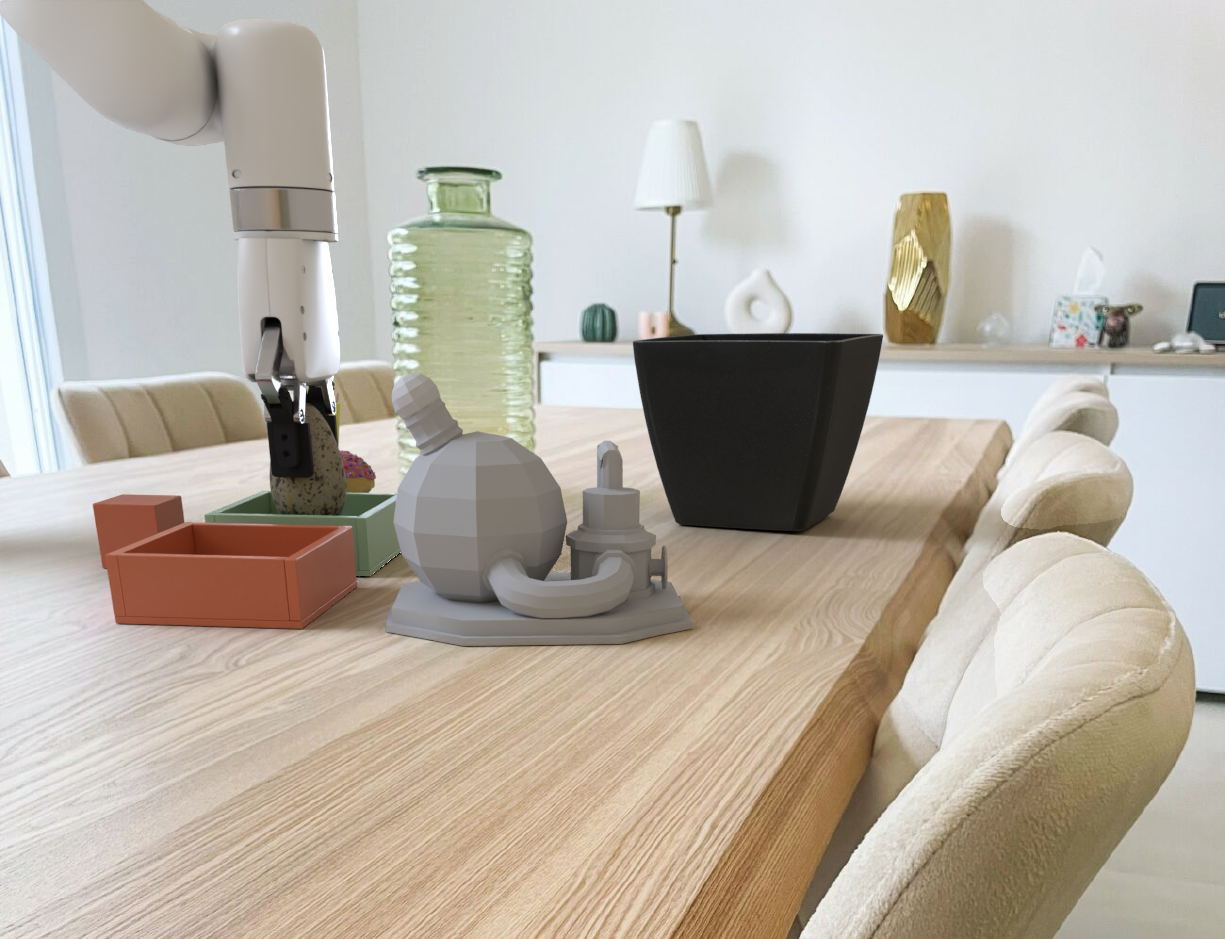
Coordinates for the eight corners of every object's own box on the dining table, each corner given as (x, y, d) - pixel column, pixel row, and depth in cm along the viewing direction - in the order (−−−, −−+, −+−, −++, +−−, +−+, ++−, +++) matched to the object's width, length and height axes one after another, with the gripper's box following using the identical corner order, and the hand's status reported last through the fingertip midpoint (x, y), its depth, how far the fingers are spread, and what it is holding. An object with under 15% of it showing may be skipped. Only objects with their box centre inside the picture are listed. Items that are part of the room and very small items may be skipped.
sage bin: (211, 573, 95) (203, 514, 93) (268, 543, 106) (262, 490, 105) (370, 577, 94) (365, 518, 92) (410, 546, 105) (406, 493, 104)
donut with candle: (397, 526, 115) (389, 391, 110) (335, 540, 108) (323, 397, 103) (328, 518, 119) (317, 387, 114) (264, 531, 112) (249, 393, 107)
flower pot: (626, 528, 114) (628, 335, 108) (693, 500, 131) (698, 330, 124) (825, 544, 108) (840, 339, 101) (870, 512, 124) (885, 333, 117)
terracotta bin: (115, 623, 80) (104, 554, 78) (193, 582, 92) (185, 522, 90) (302, 629, 79) (295, 559, 77) (357, 587, 91) (352, 525, 89)
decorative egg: (323, 522, 103) (312, 397, 99) (364, 531, 99) (355, 402, 95) (260, 531, 99) (247, 401, 95) (301, 541, 95) (288, 406, 91)
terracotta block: (102, 568, 96) (92, 503, 94) (130, 556, 101) (121, 494, 99) (163, 569, 96) (154, 505, 94) (189, 557, 101) (181, 495, 99)
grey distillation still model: (376, 646, 75) (358, 381, 69) (401, 591, 89) (388, 367, 83) (699, 643, 76) (709, 382, 70) (673, 589, 90) (679, 368, 84)
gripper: (275, 226, 99) (296, 457, 106) (188, 212, 83) (219, 485, 90) (366, 226, 98) (381, 459, 105) (295, 212, 82) (319, 487, 89)
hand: (306, 469), depth 97 cm, fingers closed on decorative egg, 5 cm apart
